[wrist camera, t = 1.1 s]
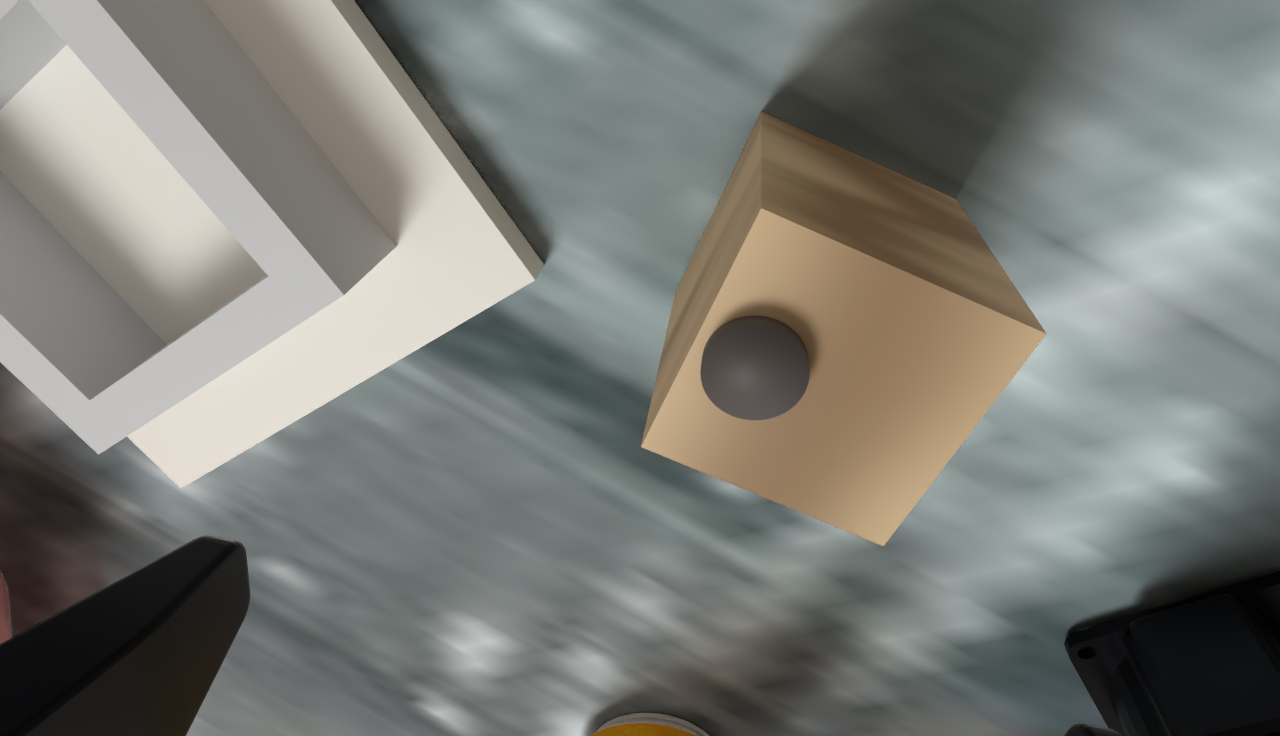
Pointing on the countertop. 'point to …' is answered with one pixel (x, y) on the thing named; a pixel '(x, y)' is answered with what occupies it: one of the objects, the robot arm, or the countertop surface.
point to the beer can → (648, 726)
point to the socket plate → (225, 218)
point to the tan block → (833, 335)
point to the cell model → (5, 611)
